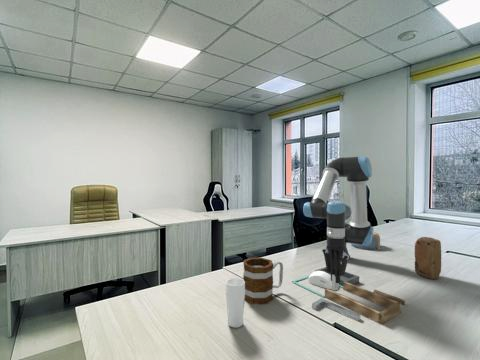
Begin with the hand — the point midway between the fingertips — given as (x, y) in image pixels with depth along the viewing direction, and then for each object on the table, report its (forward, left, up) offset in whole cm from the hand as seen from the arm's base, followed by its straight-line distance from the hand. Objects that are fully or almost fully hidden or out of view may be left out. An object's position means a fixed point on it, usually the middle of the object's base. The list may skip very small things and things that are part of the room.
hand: (335, 289), depth 112 cm
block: (+15, +57, -2) cm, 59 cm away
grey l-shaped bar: (+10, -14, -2) cm, 18 cm away
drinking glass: (-5, -50, -2) cm, 50 cm away
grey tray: (-9, +14, -2) cm, 17 cm away
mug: (-16, -28, -2) cm, 32 cm away
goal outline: (-9, 0, -2) cm, 9 cm away
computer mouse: (-10, +3, -2) cm, 10 cm away
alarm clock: (-34, +84, -2) cm, 91 cm away
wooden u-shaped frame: (+12, 0, -2) cm, 12 cm away
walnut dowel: (+16, +14, -1) cm, 21 cm away
